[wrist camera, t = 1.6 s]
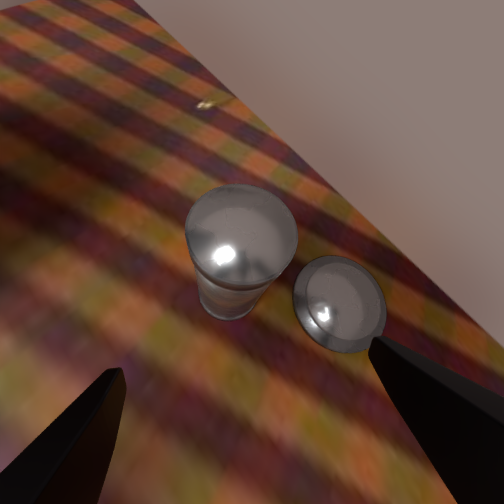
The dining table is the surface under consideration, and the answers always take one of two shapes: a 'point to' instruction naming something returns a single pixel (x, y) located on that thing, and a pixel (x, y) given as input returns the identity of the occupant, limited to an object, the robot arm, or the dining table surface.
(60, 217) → the dining table surface
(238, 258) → the grey piece
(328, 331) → the silver flat disc
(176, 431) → the dining table surface
